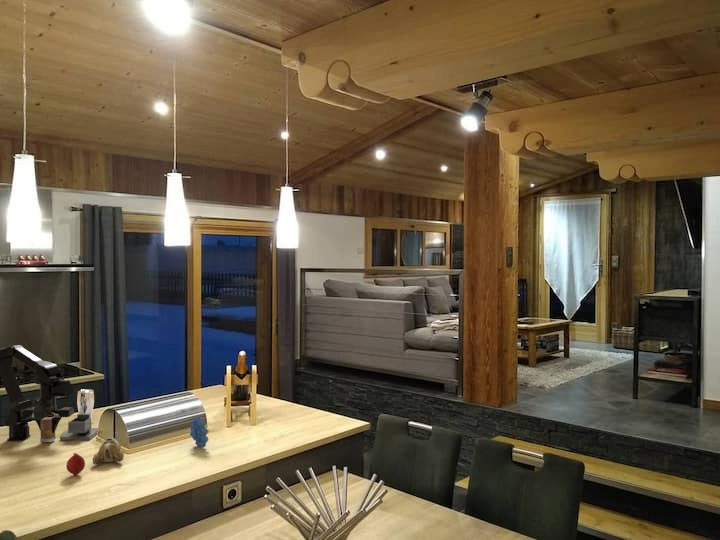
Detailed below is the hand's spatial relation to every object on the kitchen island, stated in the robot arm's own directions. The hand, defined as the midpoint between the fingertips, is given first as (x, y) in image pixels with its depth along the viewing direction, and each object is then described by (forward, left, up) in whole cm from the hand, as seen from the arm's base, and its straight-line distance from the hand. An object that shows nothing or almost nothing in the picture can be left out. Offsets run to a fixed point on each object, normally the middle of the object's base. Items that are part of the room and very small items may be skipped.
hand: (47, 433), depth 238 cm
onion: (+26, -37, -4) cm, 45 cm away
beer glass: (+5, +26, -4) cm, 27 cm away
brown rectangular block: (0, 0, -3) cm, 3 cm away
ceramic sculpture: (+32, -23, -4) cm, 40 cm away
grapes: (+62, -8, -4) cm, 63 cm away
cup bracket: (+10, +8, -4) cm, 13 cm away
